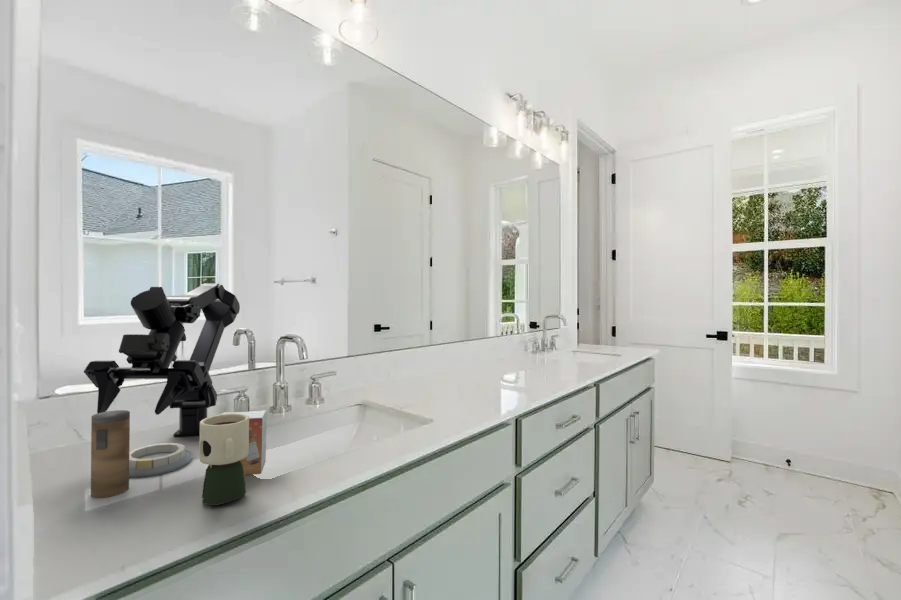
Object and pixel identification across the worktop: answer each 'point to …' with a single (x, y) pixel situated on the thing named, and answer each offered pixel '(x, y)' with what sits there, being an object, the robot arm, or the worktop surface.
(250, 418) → the small box
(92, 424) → the brown wooden canister
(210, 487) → the character mug
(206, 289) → the robot arm
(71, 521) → the worktop surface
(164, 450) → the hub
